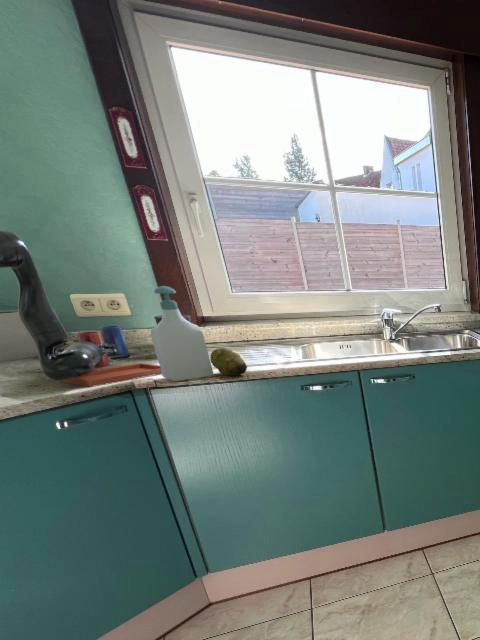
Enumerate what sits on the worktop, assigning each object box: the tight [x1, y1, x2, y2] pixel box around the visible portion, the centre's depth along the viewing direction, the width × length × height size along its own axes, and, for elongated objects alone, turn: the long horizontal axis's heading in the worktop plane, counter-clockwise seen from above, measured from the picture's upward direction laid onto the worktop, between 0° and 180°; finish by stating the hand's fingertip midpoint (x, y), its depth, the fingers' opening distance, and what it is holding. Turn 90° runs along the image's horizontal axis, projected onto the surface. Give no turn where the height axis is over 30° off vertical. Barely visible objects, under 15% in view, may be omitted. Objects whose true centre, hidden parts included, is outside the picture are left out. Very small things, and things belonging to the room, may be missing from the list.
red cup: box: [76, 331, 111, 368], centre depth 163 cm, size 5×6×11 cm
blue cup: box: [99, 325, 131, 360], centre depth 175 cm, size 5×6×11 cm
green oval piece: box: [209, 347, 248, 377], centre depth 159 cm, size 8×13×8 cm, turn 43°
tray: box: [59, 362, 162, 387], centre depth 152 cm, size 22×14×2 cm, turn 162°
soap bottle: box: [150, 285, 214, 382], centre depth 151 cm, size 11×8×27 cm
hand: (94, 346), depth 165 cm, fingers closed on red cup, 5 cm apart
